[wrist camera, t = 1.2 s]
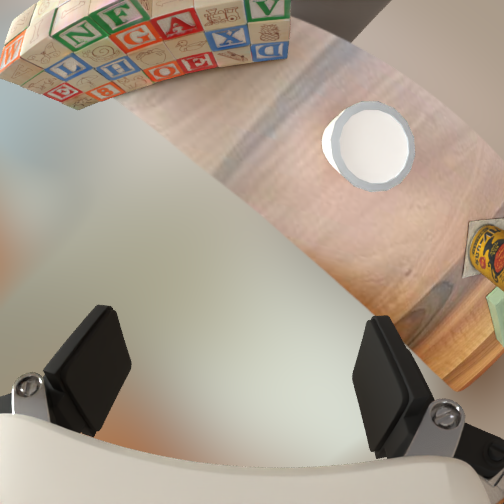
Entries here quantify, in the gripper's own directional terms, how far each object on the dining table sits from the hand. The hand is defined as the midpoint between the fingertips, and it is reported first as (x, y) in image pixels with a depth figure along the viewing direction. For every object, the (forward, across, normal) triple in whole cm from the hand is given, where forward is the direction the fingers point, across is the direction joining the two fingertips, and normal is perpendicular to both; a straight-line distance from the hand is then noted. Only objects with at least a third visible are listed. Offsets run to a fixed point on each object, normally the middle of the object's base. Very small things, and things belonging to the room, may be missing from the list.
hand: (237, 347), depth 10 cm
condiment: (+20, -29, +3) cm, 35 cm away
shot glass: (+20, -9, -7) cm, 23 cm away
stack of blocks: (+19, +8, -16) cm, 26 cm away
